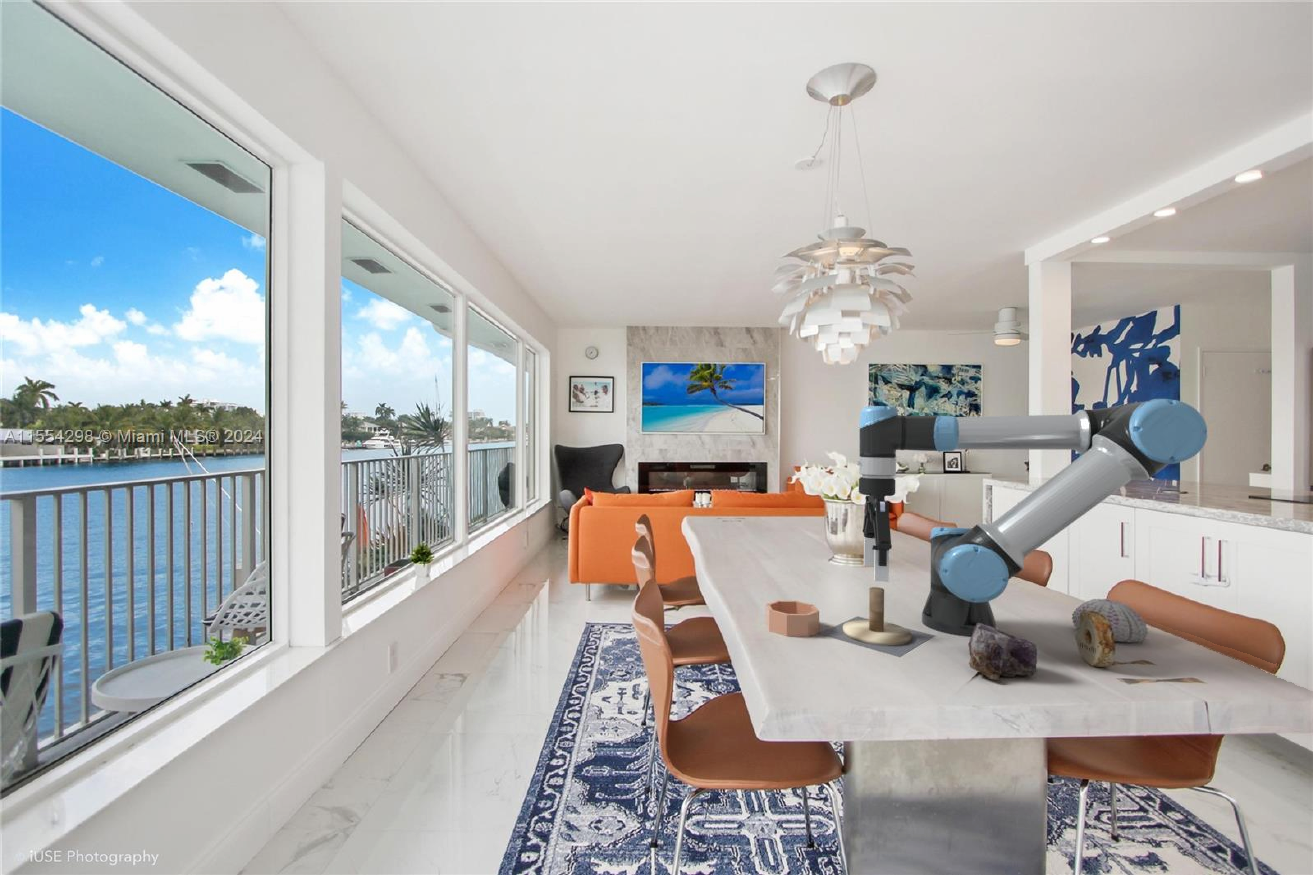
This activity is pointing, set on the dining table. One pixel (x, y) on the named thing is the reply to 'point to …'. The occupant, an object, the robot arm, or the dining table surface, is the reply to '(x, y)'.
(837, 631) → the rubber mat
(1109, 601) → the sea urchin shell
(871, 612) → the oak lid
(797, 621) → the terracotta bowl
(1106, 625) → the stone disc
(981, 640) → the rock
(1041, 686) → the dining table surface
